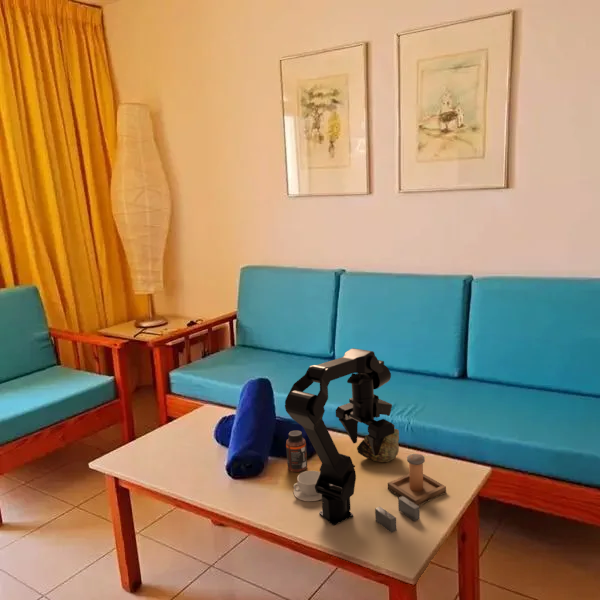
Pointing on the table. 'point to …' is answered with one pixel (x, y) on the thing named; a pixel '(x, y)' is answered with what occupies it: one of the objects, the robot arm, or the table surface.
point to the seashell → (386, 451)
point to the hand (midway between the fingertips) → (365, 448)
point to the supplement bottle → (296, 452)
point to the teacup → (307, 486)
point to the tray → (428, 493)
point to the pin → (416, 471)
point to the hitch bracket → (390, 521)
